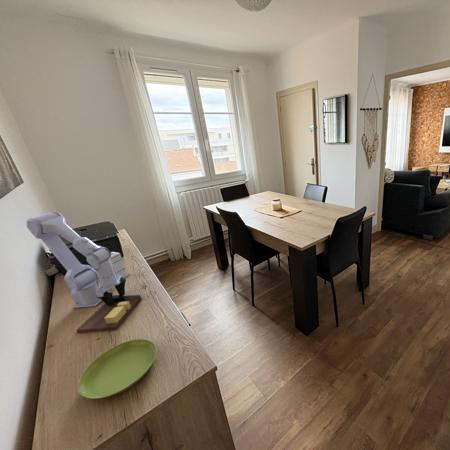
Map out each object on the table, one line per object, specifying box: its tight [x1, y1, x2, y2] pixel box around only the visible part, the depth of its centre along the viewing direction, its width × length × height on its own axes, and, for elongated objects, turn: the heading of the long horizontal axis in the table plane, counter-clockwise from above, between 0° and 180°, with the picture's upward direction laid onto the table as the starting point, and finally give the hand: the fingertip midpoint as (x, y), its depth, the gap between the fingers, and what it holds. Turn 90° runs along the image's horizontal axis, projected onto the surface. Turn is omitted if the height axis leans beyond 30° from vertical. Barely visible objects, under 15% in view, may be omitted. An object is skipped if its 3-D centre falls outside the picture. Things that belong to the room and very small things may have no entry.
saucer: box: [77, 338, 157, 400], centre depth 77 cm, size 21×21×3 cm
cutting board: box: [76, 299, 142, 334], centre depth 103 cm, size 15×18×2 cm
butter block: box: [105, 307, 126, 324], centre depth 99 cm, size 4×6×3 cm, turn 3°
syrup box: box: [109, 251, 129, 279], centre depth 129 cm, size 6×6×14 cm
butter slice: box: [117, 301, 131, 310], centre depth 104 cm, size 4×2×3 cm, turn 93°
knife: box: [103, 294, 143, 304], centre depth 110 cm, size 16×2×3 cm, turn 93°
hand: (117, 299), depth 110 cm, fingers open, 7 cm apart
